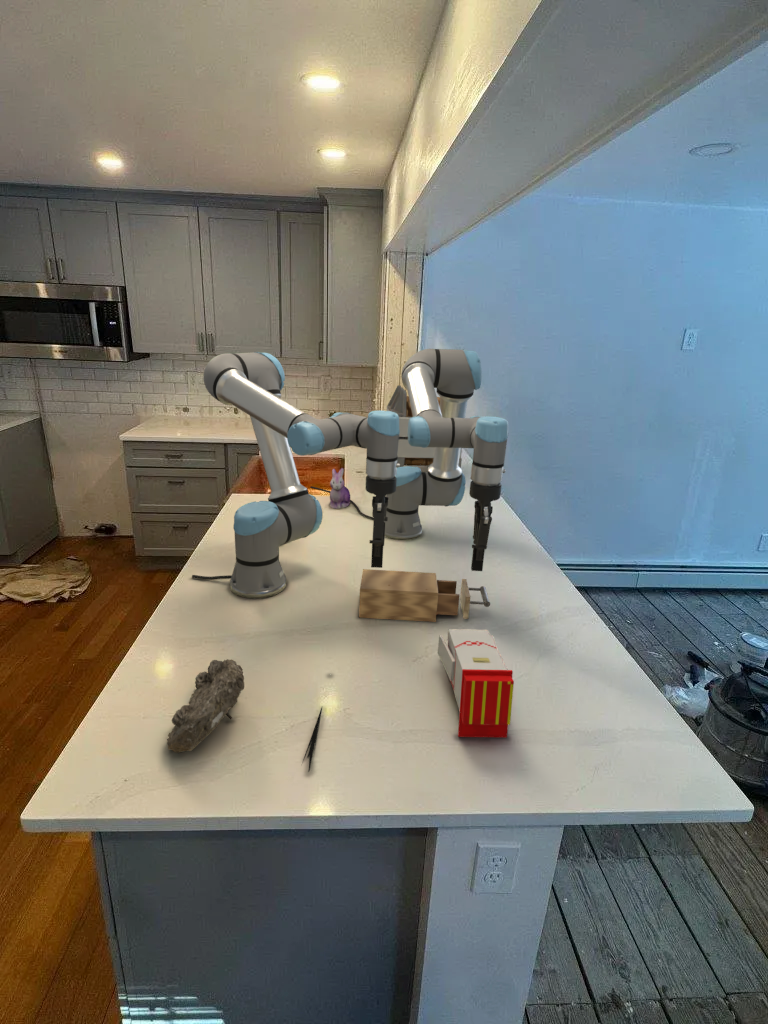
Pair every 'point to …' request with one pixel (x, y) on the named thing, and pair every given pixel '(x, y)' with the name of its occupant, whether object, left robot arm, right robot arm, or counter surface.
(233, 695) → the fossil
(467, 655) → the toy
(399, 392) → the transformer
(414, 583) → the wooden drawer box
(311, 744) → the feather
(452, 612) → the drawer
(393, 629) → the counter surface
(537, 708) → the counter surface
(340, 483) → the figurine
